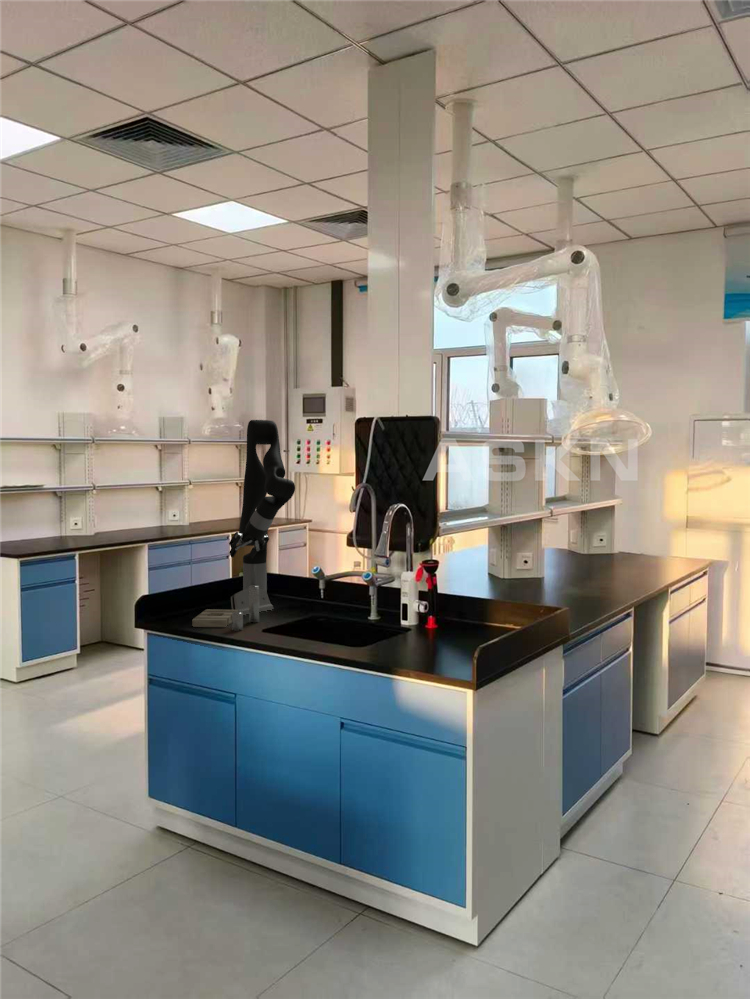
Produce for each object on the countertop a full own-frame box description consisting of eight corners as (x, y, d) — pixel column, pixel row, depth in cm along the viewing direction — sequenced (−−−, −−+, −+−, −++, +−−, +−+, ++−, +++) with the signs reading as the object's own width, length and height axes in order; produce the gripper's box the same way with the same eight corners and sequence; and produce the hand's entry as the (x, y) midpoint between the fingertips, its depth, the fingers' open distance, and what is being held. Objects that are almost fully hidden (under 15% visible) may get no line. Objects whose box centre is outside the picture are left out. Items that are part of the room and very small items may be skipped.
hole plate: (206, 615, 293) (206, 609, 293) (238, 616, 292) (238, 609, 292) (192, 626, 275) (192, 619, 275) (226, 627, 275) (226, 620, 274)
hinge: (240, 616, 293) (234, 590, 294) (232, 618, 296) (227, 593, 297) (274, 609, 305) (268, 584, 307) (267, 612, 308) (261, 587, 310)
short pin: (233, 628, 272) (233, 611, 272) (244, 628, 272) (243, 611, 272) (231, 631, 269) (231, 613, 268) (241, 631, 268) (241, 613, 268)
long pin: (250, 620, 285) (250, 585, 284) (260, 620, 285) (259, 585, 284) (248, 622, 281) (247, 586, 281) (258, 623, 281) (257, 587, 280)
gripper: (271, 517, 289) (253, 550, 296) (239, 514, 279) (220, 548, 286) (280, 530, 285) (261, 563, 292) (247, 528, 275) (228, 562, 282)
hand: (241, 556), depth 289 cm, fingers open, 8 cm apart
